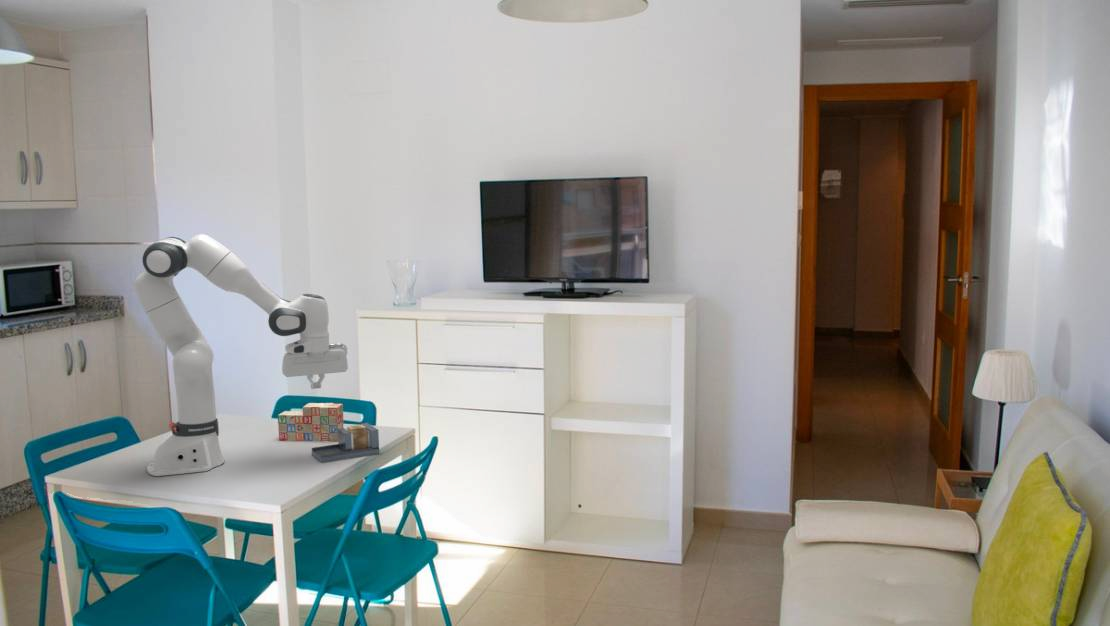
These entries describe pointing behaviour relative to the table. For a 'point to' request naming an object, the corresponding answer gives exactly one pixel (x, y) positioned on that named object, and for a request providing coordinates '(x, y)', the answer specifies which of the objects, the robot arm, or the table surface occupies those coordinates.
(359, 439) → the oak block
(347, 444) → the sliding jaw
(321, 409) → the stack of blocks
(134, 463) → the table surface
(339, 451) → the vise base
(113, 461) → the table surface
